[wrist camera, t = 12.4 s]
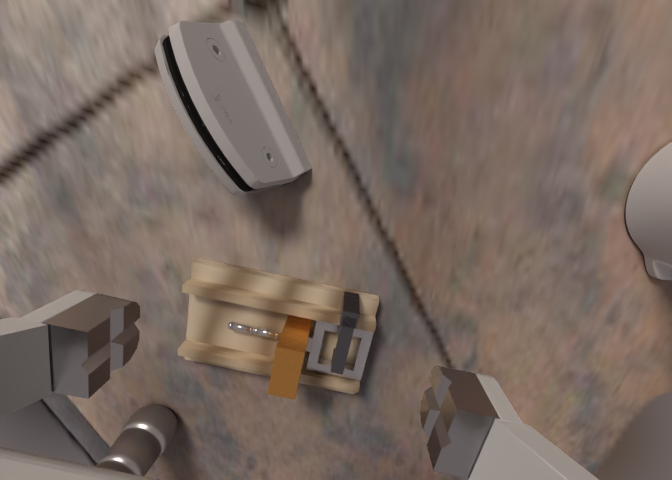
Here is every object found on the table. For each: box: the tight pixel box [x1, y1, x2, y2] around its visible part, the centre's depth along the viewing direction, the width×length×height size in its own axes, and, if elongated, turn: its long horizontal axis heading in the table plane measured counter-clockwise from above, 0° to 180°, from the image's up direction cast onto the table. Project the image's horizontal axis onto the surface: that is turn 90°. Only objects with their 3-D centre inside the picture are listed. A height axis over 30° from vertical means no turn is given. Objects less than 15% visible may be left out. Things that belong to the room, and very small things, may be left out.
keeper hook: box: [331, 291, 360, 375], centre depth 37 cm, size 2×8×5 cm, turn 169°
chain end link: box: [227, 315, 374, 400], centre depth 37 cm, size 18×7×7 cm, turn 78°
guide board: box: [178, 258, 379, 394], centre depth 40 cm, size 23×14×4 cm, turn 79°
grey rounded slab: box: [155, 20, 312, 196], centre depth 31 cm, size 17×5×10 cm, turn 25°
